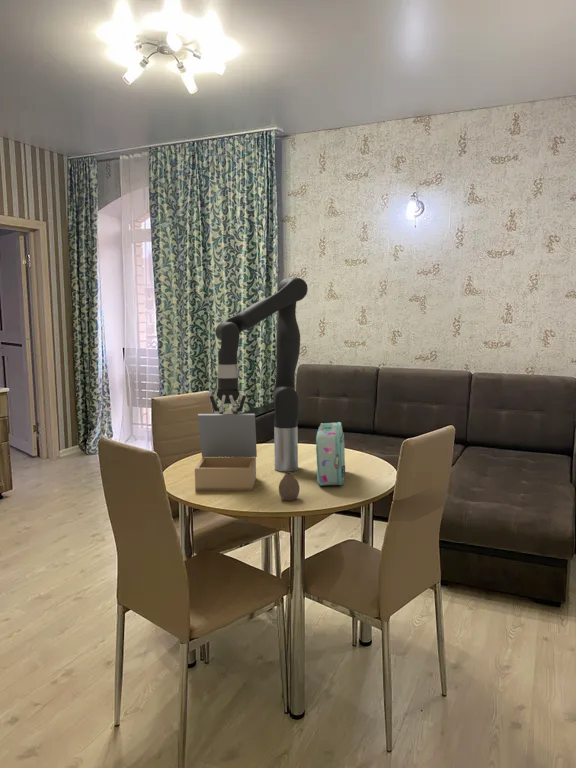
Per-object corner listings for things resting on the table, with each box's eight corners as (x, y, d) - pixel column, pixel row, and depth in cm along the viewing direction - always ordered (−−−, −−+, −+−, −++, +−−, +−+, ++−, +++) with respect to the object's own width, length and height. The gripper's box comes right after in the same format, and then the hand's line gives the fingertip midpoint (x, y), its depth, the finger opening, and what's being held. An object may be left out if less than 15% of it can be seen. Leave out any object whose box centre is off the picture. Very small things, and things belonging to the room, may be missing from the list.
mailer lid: (256, 457, 211) (257, 446, 217) (254, 415, 203) (256, 405, 209) (201, 457, 211) (204, 447, 218) (197, 415, 204) (200, 406, 210)
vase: (276, 496, 189) (276, 471, 188) (296, 495, 191) (296, 470, 190) (281, 503, 183) (281, 477, 182) (301, 501, 184) (301, 475, 183)
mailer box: (256, 478, 212) (255, 457, 211) (252, 490, 196) (252, 468, 195) (203, 478, 212) (202, 457, 211) (195, 490, 196) (194, 468, 196)
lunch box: (345, 490, 196) (345, 430, 193) (315, 490, 196) (315, 429, 194) (344, 470, 222) (344, 416, 220) (318, 469, 223) (318, 416, 220)
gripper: (248, 375, 212) (248, 420, 214) (210, 375, 212) (211, 420, 214) (246, 377, 204) (246, 424, 206) (207, 377, 205) (207, 424, 207)
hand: (228, 422), depth 210 cm, fingers closed on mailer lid, 4 cm apart
